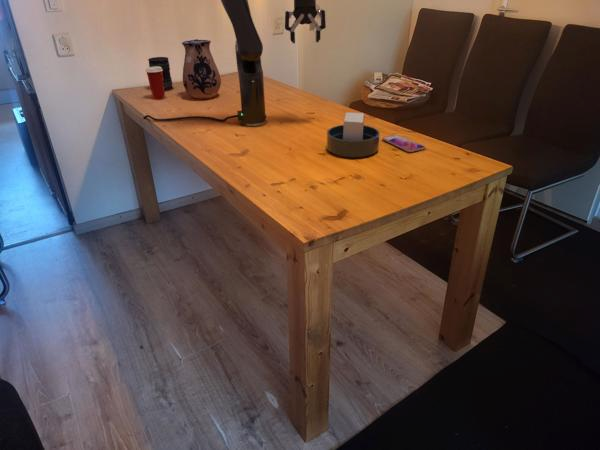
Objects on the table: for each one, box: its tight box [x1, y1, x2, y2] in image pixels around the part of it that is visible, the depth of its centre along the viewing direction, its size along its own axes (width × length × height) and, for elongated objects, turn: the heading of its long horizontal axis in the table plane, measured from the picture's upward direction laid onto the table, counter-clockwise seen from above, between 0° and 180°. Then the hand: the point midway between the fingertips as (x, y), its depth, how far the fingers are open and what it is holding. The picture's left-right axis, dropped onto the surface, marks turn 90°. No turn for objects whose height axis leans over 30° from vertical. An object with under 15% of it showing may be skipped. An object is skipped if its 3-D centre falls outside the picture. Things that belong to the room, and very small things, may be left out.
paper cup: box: [145, 66, 166, 101], centre depth 213 cm, size 8×8×14 cm
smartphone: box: [381, 134, 426, 153], centre depth 155 cm, size 7×1×15 cm
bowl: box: [326, 124, 381, 159], centre depth 151 cm, size 17×17×6 cm
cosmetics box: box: [342, 112, 365, 141], centre depth 149 cm, size 10×6×10 cm, turn 171°
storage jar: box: [147, 56, 174, 92], centre depth 228 cm, size 10×10×15 cm
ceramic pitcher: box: [181, 38, 222, 100], centre depth 212 cm, size 18×21×25 cm
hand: (305, 42), depth 162 cm, fingers open, 8 cm apart
